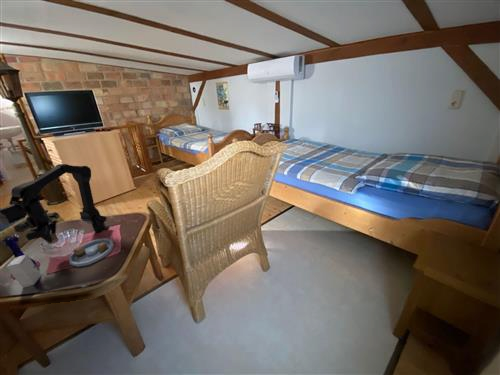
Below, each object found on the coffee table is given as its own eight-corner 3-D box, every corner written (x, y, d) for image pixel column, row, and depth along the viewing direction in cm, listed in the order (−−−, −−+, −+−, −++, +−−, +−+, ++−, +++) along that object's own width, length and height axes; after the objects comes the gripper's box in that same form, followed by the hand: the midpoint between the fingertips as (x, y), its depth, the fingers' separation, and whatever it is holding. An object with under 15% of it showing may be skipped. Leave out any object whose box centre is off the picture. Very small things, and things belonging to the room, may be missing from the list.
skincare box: (34, 284, 89) (19, 263, 84) (21, 288, 88) (5, 267, 83) (42, 274, 94) (28, 253, 89) (30, 277, 93) (15, 256, 88)
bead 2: (87, 252, 103) (84, 247, 102) (78, 258, 100) (75, 252, 99) (83, 250, 105) (80, 245, 104) (74, 256, 102) (71, 250, 101)
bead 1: (49, 240, 101) (46, 234, 99) (60, 237, 102) (56, 232, 101) (46, 245, 97) (42, 239, 96) (57, 242, 99) (53, 236, 97)
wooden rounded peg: (101, 248, 106) (99, 243, 104) (110, 246, 107) (107, 241, 105) (98, 253, 102) (95, 248, 101) (106, 252, 103) (104, 246, 102)
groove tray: (83, 246, 111) (80, 242, 110) (119, 239, 114) (117, 235, 112) (63, 271, 95) (60, 267, 93) (105, 263, 98) (103, 259, 96)
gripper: (23, 207, 98) (39, 234, 104) (-1, 228, 82) (20, 258, 89) (52, 201, 101) (66, 227, 108) (35, 220, 86) (53, 249, 92)
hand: (52, 239), depth 99 cm, fingers closed on bead 1, 4 cm apart
